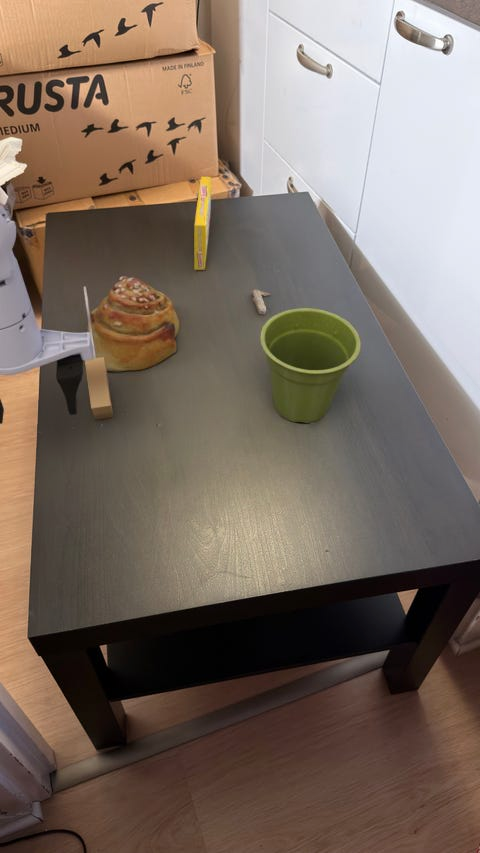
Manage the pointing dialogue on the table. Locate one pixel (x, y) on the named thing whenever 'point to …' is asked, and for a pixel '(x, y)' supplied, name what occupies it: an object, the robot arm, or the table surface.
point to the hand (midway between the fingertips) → (37, 412)
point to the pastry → (134, 326)
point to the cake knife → (97, 378)
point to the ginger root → (259, 301)
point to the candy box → (202, 223)
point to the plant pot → (307, 360)
